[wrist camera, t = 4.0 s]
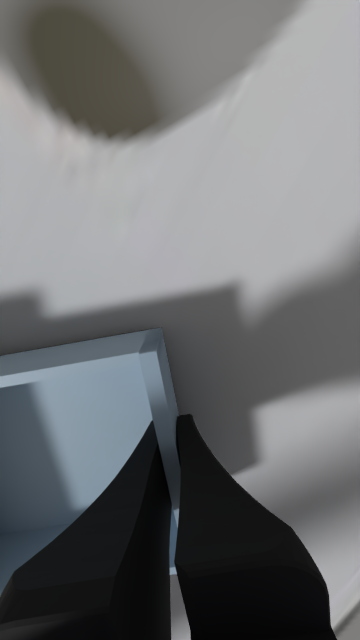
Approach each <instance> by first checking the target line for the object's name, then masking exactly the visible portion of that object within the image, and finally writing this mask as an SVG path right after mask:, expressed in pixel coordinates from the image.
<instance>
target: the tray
mask: <svg viewBox="0 0 360 640" xmlns="http://www.w3.org/2000/svg"><path fill="white" fill-rule="evenodd" d="M177 416H179V413H178V408H177V403H176V398H175V393H174V388H173V383H172V378H171V372H170V367H169V362H168V357H167V352H166V347H165V342H164V337H163V332H162V327H161V328H156V329H150V330H144V331H139V332H133V333H127V334H121V335H116V336H110V337H104V338H99V339H93V340H87V341H82V342H76V343H70V344H65V345H59V346H53V347H48V348H42V349H36V350H30V351H25V352H19V353H13V354H8V355H2V356H0V595H1V593H2V592H3V590H4V588H5V586H6V585H7V583H8V581H9V579H10V578H11V576H12V574H13V572H14V571H15V570H16V569H18V568H19V567H20V566H22V565H23V564H24V563H26V562H27V561H28V560H29V559H31V558H32V557H33V556H34V555H35V554H37V553H38V552H39V551H40V550H42V549H43V548H44V547H45V546H47V545H48V544H49V543H50V542H52V541H53V540H54V539H55V538H56V537H57V536H58V535H60V534H61V533H62V532H63V531H64V530H65V529H66V528H67V527H69V526H70V525H71V524H72V523H73V522H74V521H75V520H76V519H77V518H78V517H79V516H80V515H81V514H82V513H83V512H84V511H85V510H86V509H87V508H88V507H89V506H90V505H91V504H92V503H93V502H94V501H95V500H96V499H97V498H98V497H99V496H100V494H101V493H102V492H103V491H104V490H105V489H106V488H107V486H108V485H109V484H110V483H111V482H112V480H113V479H114V478H115V477H116V475H117V474H118V473H119V471H120V470H121V468H122V467H123V466H124V464H125V463H126V461H127V460H128V459H129V457H130V456H131V454H132V453H133V451H134V449H135V448H136V446H137V445H138V443H139V441H140V440H141V438H142V436H143V435H144V433H145V431H146V429H147V428H148V426H149V424H150V422H151V421H152V420H153V422H154V427H155V431H156V435H157V440H158V444H159V449H160V453H161V458H162V462H163V466H164V471H165V475H166V480H167V484H168V489H169V493H170V497H171V502H172V511H171V526H170V548H169V555H170V575H173V574H177V572H176V568H175V564H174V558H175V550H176V540H177V530H178V518H179V503H180V477H181V461H180V451H179V443H178V436H177V428H176V420H177Z"/></svg>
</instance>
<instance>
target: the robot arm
mask: <svg viewBox="0 0 360 640" xmlns="http://www.w3.org/2000/svg"><path fill="white" fill-rule="evenodd" d="M176 428H177V436H178V443H179V451H180V461H181V477H180V503H179V518H178V530H177V540H176V550H175V558H174V564H175V568H176V572H177V576H178V580H179V584H180V589H181V593H182V597H183V601H184V605H185V609H186V613H187V618H188V622H189V626H190V630H191V640H337V639H336V637H335V634H334V632H333V630H332V628H331V623H330V606H329V594H328V590H327V586H326V583H325V581H324V579H323V577H322V575H321V573H320V571H319V569H318V567H317V566H316V564H315V562H314V561H313V559H312V557H311V555H310V554H309V552H308V551H307V549H306V548H305V546H304V545H303V543H302V542H301V540H300V539H299V537H298V536H297V535H296V533H295V532H294V530H293V529H292V528H291V527H290V526H289V525H287V524H286V523H284V522H283V521H282V520H280V519H279V518H278V517H276V516H275V515H274V514H272V513H271V512H270V511H268V510H267V509H266V508H265V507H264V506H262V505H261V504H260V503H259V502H258V501H256V500H255V499H254V498H253V497H252V496H251V495H250V494H249V493H248V492H247V491H245V490H244V489H243V488H242V487H241V486H240V485H239V484H238V483H237V482H236V481H235V480H234V479H233V478H232V477H231V476H230V475H229V473H228V472H227V471H226V470H225V469H224V468H223V467H222V465H221V464H220V463H219V462H218V460H217V459H216V458H215V457H214V455H213V454H212V452H211V451H210V450H209V448H208V447H207V445H206V444H205V442H204V440H203V439H202V437H201V435H200V433H199V432H198V430H197V428H196V425H195V423H194V420H193V416H192V415H191V414H187V415H181V416H177V420H176ZM171 511H172V502H171V497H170V493H169V489H168V484H167V480H166V475H165V471H164V466H163V462H162V458H161V453H160V449H159V444H158V440H157V435H156V431H155V427H154V422H153V420H152V421H151V422H150V424H149V426H148V428H147V429H146V431H145V433H144V435H143V436H142V438H141V440H140V441H139V443H138V445H137V446H136V448H135V449H134V451H133V453H132V454H131V456H130V457H129V459H128V460H127V461H126V463H125V464H124V466H123V467H122V468H121V470H120V471H119V473H118V474H117V475H116V477H115V478H114V479H113V480H112V482H111V483H110V484H109V485H108V486H107V488H106V489H105V490H104V491H103V492H102V493H101V494H100V496H99V497H98V498H97V499H96V500H95V501H94V502H93V503H92V504H91V505H90V506H89V507H88V508H87V509H86V510H85V511H84V512H83V513H82V514H81V515H80V516H79V517H78V518H77V519H76V520H75V521H74V522H73V523H72V524H71V525H70V526H69V527H67V528H66V529H65V530H64V531H63V532H62V533H61V534H60V535H58V536H57V537H56V538H55V539H54V540H53V541H52V542H50V543H49V544H48V545H47V546H45V547H44V548H43V549H42V550H40V551H39V552H38V553H37V554H35V555H34V556H33V557H32V558H31V559H29V560H28V561H27V562H26V563H24V564H23V565H22V566H20V567H19V568H18V569H16V570H15V571H14V572H13V574H12V576H11V578H10V579H9V581H8V583H7V585H6V586H5V588H4V590H3V592H2V593H1V595H0V640H171V613H170V555H169V548H170V526H171Z"/></svg>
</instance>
